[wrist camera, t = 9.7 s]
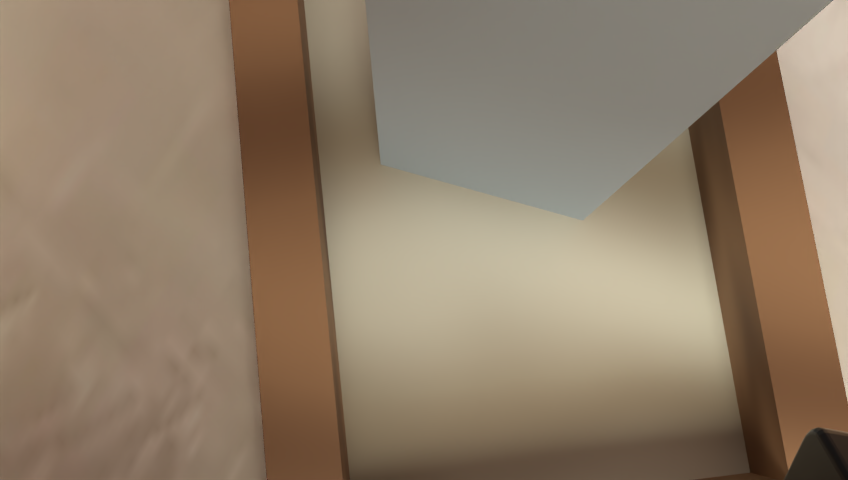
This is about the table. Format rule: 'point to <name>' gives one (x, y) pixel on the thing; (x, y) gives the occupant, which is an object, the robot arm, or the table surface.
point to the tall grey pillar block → (557, 86)
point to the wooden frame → (520, 291)
